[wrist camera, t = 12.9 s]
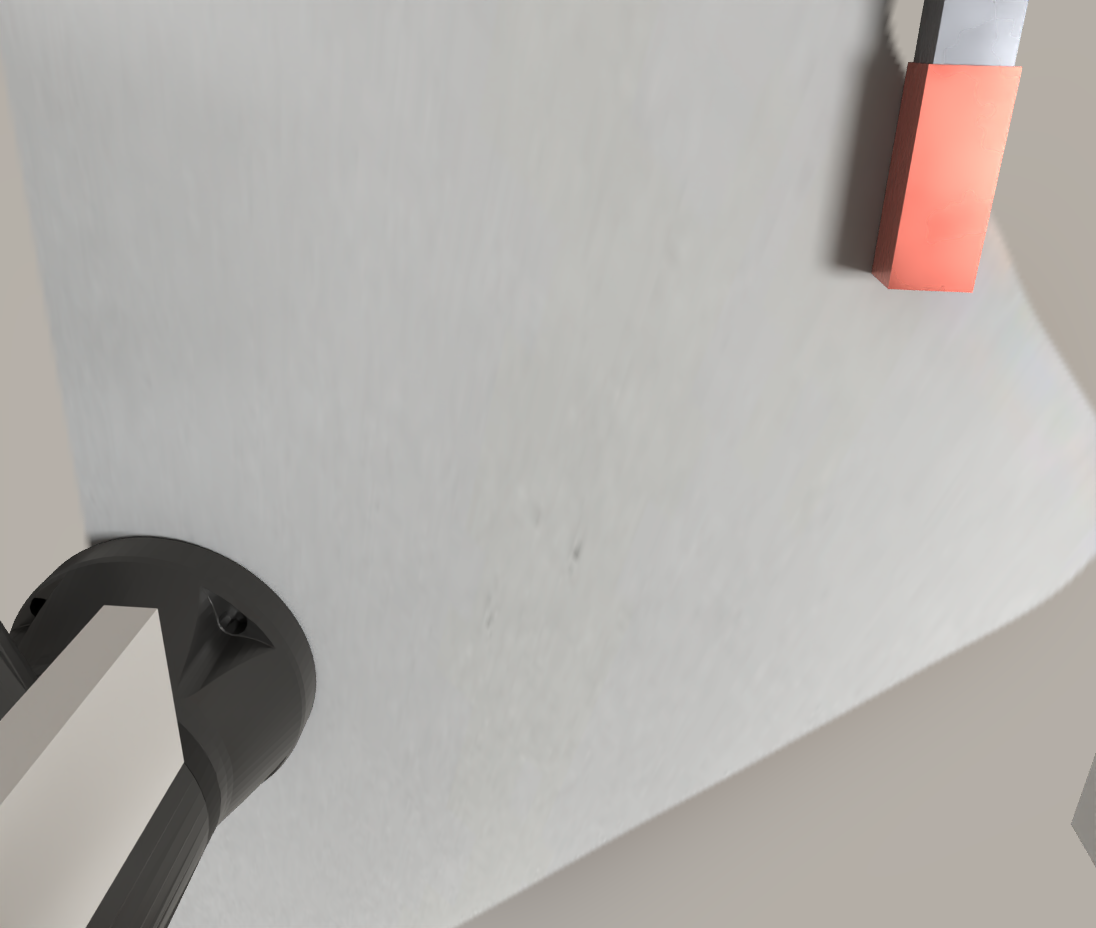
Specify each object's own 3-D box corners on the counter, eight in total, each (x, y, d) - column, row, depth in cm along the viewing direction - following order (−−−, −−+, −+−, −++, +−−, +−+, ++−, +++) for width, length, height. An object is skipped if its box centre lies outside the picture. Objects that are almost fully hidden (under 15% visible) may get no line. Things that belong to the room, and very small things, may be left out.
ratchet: (839, 271, 39) (879, 314, 33) (936, -339, 30) (1013, -428, 24) (982, 277, 38) (1049, 322, 33) (1120, -337, 30) (1243, -428, 24)
